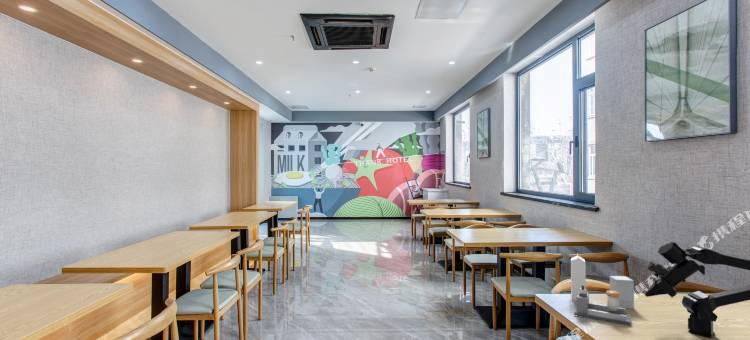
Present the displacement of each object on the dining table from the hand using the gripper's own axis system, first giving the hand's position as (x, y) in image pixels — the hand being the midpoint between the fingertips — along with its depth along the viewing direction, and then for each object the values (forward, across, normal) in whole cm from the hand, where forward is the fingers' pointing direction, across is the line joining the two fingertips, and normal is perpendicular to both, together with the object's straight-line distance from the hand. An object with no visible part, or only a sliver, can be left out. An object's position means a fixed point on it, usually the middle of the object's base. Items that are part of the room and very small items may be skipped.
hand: (645, 295), depth 148 cm
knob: (+15, -1, -1) cm, 15 cm away
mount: (+19, -1, -2) cm, 19 cm away
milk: (+26, -20, -9) cm, 34 cm away
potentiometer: (+18, -1, -13) cm, 22 cm away
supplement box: (+14, -21, +3) cm, 25 cm away
